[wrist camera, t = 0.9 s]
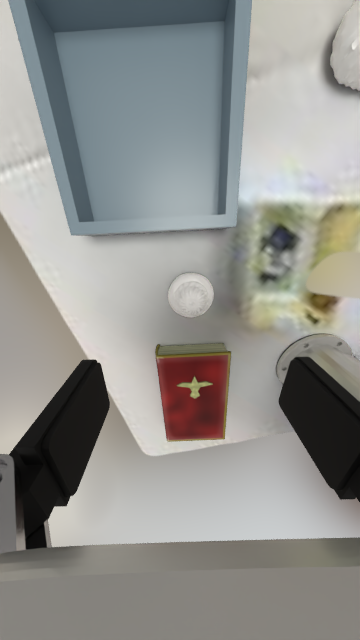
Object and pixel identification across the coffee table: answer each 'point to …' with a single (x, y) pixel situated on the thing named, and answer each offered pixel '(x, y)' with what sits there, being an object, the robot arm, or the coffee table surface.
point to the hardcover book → (194, 390)
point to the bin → (140, 108)
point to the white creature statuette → (348, 49)
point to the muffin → (190, 295)
